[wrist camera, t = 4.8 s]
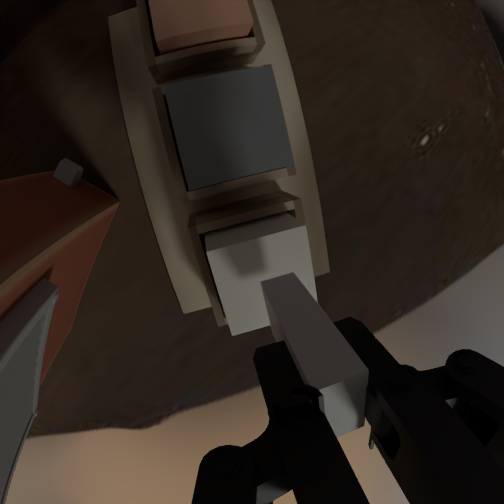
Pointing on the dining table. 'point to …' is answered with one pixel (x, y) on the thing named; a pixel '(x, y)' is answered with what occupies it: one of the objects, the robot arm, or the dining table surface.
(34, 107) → the dining table surface
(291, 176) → the keypad board
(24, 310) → the terracotta and grey box
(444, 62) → the dining table surface
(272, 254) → the ivory key
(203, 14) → the terracotta key
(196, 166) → the graphite key
